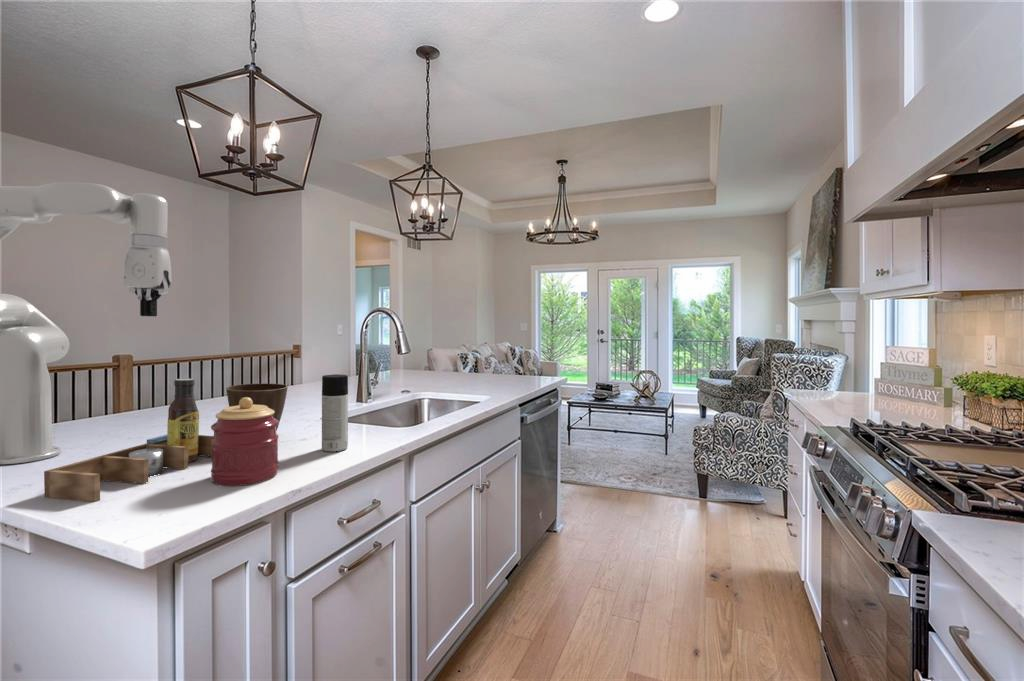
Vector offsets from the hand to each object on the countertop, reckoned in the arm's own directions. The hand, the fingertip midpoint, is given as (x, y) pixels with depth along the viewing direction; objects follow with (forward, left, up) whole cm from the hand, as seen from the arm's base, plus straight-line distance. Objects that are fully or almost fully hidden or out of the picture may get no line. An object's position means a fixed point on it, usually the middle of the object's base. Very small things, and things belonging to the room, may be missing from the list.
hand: (148, 316), depth 121 cm
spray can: (+45, +12, -35) cm, 58 cm away
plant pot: (+22, +12, -35) cm, 43 cm away
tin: (+16, -16, -35) cm, 41 cm away
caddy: (+16, -16, -35) cm, 41 cm away
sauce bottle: (+15, -6, -35) cm, 39 cm away
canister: (+38, -13, -35) cm, 53 cm away
